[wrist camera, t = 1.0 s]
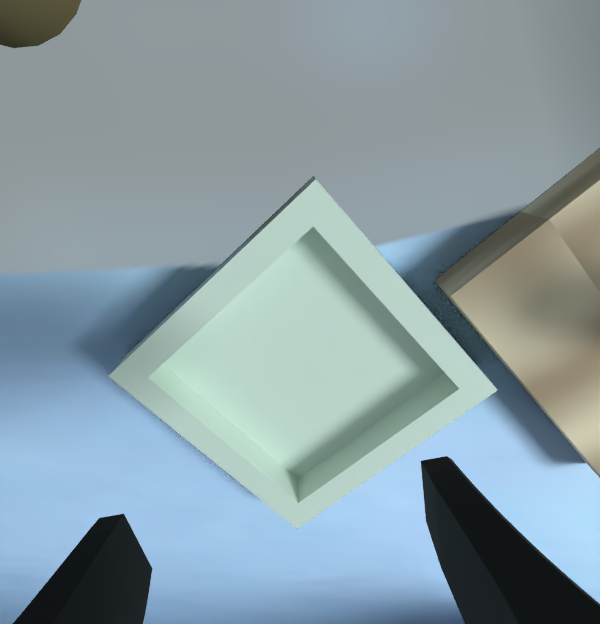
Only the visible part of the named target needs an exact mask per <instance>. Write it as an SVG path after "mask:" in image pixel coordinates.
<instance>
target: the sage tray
mask: <svg viewBox="0 0 600 624" xmlns="http://www.w3.org/2000/svg"><path fill="white" fill-rule="evenodd" d="M108 377H110V378H111V379H112V380H113V381H115V382H116V383H117V384H118V385H120V386H121V387H122V388H123V389H125V390H126V391H127V392H128V393H129V394H131V395H132V396H133V397H134V398H136V399H137V400H138V401H139V402H141V403H142V404H143V405H144V406H146V407H147V408H148V409H149V410H151V411H152V412H153V413H154V414H155V415H157V416H158V417H159V418H160V419H162V420H163V421H164V422H165V423H167V424H168V425H169V426H170V427H172V428H173V429H174V430H175V431H176V432H178V433H179V434H180V435H181V436H183V437H184V438H185V439H186V440H188V441H189V442H190V443H191V444H193V445H194V446H195V447H196V448H197V449H199V450H200V451H201V452H202V453H204V454H205V455H206V456H207V457H209V458H210V459H211V460H212V461H214V462H215V463H216V464H217V465H219V466H220V467H221V468H222V469H223V470H225V471H226V472H227V473H228V474H230V475H231V476H232V477H233V478H235V479H236V480H237V481H238V482H240V483H241V484H242V485H243V486H244V487H246V488H247V489H248V490H249V491H251V492H252V493H253V494H254V495H256V496H257V497H258V498H259V499H261V500H262V501H263V502H264V503H265V504H267V505H268V506H269V507H270V508H272V509H273V510H274V511H275V512H277V513H278V514H279V515H280V516H282V517H283V518H284V519H285V520H286V521H288V522H289V523H290V524H291V525H293V526H294V527H295V528H296V529H297V528H299V527H300V526H302V525H303V524H305V523H306V522H308V521H309V520H310V519H312V518H313V517H315V516H316V515H318V514H319V513H321V512H322V511H324V510H325V509H326V508H328V507H329V506H331V505H332V504H334V503H335V502H337V501H338V500H339V499H341V498H342V497H344V496H345V495H347V494H348V493H350V492H351V491H352V490H354V489H355V488H357V487H358V486H360V485H361V484H363V483H364V482H366V481H367V480H368V479H370V478H371V477H373V476H374V475H376V474H377V473H379V472H380V471H381V470H383V469H384V468H386V467H387V466H389V465H390V464H392V463H393V462H395V461H396V460H397V459H399V458H400V457H402V456H403V455H405V454H406V453H408V452H409V451H410V450H412V449H413V448H415V447H416V446H418V445H419V444H421V443H422V442H424V441H425V440H426V439H428V438H429V437H431V436H432V435H434V434H435V433H437V432H438V431H439V430H441V429H442V428H444V427H445V426H447V425H448V424H450V423H451V422H452V421H454V420H455V419H457V418H458V417H460V416H461V415H463V414H464V413H466V412H467V411H468V410H470V409H471V408H473V407H474V406H476V405H477V404H479V403H480V402H481V401H483V400H484V399H486V398H487V397H489V396H490V395H492V394H493V393H495V392H496V391H497V389H496V387H495V386H494V385H493V384H492V383H491V381H490V380H489V379H488V378H487V377H486V375H485V374H484V373H483V372H482V371H481V370H480V368H479V367H478V366H477V365H476V364H475V362H474V361H473V360H472V359H471V358H470V357H469V355H468V354H467V353H466V352H465V351H464V350H463V349H462V347H461V346H460V345H459V344H458V343H457V342H456V340H455V339H454V338H453V337H452V336H451V335H450V333H449V332H448V331H447V330H446V329H445V328H444V327H443V325H442V324H441V323H440V322H439V321H438V320H437V318H436V317H435V316H434V315H433V314H432V313H431V311H430V310H429V309H428V308H427V307H426V306H425V304H424V303H423V302H422V301H421V300H420V299H419V298H418V296H417V295H416V294H415V293H414V292H413V291H412V289H411V288H410V287H409V286H408V285H407V284H406V282H405V281H404V280H403V279H402V278H401V277H400V275H399V274H398V273H397V272H396V271H395V270H394V269H393V267H392V266H391V265H390V264H389V263H388V262H387V260H386V259H385V258H384V257H383V256H382V255H381V253H380V252H379V251H378V250H377V249H376V248H375V246H374V245H373V244H372V243H371V242H370V241H369V240H368V238H367V237H366V236H365V235H364V234H363V233H362V231H361V230H360V229H359V228H358V227H357V226H356V224H355V223H354V222H353V221H352V220H351V219H350V217H349V216H348V215H347V214H346V213H345V212H344V211H343V209H342V208H341V207H340V206H339V205H338V204H337V203H336V201H335V200H334V199H333V198H332V197H331V196H330V194H329V193H328V192H327V191H326V190H325V189H324V187H323V186H322V185H321V184H320V183H319V182H318V181H317V180H316V178H315V177H314V176H313V177H312V178H311V179H310V180H309V181H308V182H307V183H306V184H305V185H304V186H303V187H302V188H300V189H299V190H298V191H297V192H296V193H295V194H294V195H293V196H292V197H291V198H290V199H289V200H288V201H287V202H286V203H285V204H284V205H283V206H282V207H281V208H280V209H279V210H277V211H276V212H275V214H273V215H272V216H271V217H270V218H269V219H268V220H267V221H266V222H265V223H264V224H263V225H262V226H261V227H260V228H259V229H258V230H256V231H255V232H254V233H253V234H252V235H251V236H250V237H249V238H248V239H247V240H246V241H245V242H244V243H243V244H242V245H241V246H240V247H239V248H238V249H237V250H236V251H234V252H233V253H232V254H231V255H230V256H229V257H228V258H227V259H226V260H225V261H224V262H223V263H222V264H221V265H220V266H219V267H218V268H217V269H216V270H215V271H213V272H212V273H211V274H210V275H209V276H208V277H207V278H206V279H205V280H204V281H203V282H202V283H201V284H200V285H199V286H198V287H197V288H196V289H195V290H194V291H193V292H191V293H190V294H189V295H188V296H187V297H186V298H185V299H184V300H183V301H182V302H181V303H180V304H179V305H178V306H177V307H176V308H175V309H174V310H173V311H172V312H170V313H169V314H168V315H167V316H166V317H165V318H164V319H163V320H162V321H161V322H160V323H159V324H158V325H157V326H156V327H155V328H154V329H153V330H152V331H151V332H150V333H148V334H147V335H146V336H145V337H144V338H143V339H142V340H141V341H140V342H139V343H138V344H137V345H136V346H135V347H134V348H133V349H132V350H131V351H130V352H129V353H128V354H127V355H126V356H125V357H124V358H123V359H122V361H121V362H120V363H119V364H118V365H117V367H116V368H115V369H114V370H113V371H112V372H111V374H110V375H109V376H108Z"/></svg>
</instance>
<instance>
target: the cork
mask: <svg viewBox="0 0 600 624" xmlns="http://www.w3.org/2000/svg"><path fill="white" fill-rule="evenodd" d="M80 2H81V0H0V44H1V45H4V46H8V47H12V48H18V47H27V46H38V45H40V44H42V43H44V42H46V41H48V40H49V39H51V38H53V37H55V36H57V35H59V34H60V33H61V32H62V31H63V30H64V28H65V27H66V26H67V25H68V23H69V22H70V21H71V20H72V18H73V17H74V16H75V15H76V13H77V10H78V8H79V5H80Z"/></svg>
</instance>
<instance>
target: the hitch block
mask: <svg viewBox="0 0 600 624" xmlns="http://www.w3.org/2000/svg"><path fill="white" fill-rule="evenodd" d="M434 281H435V282H436V284H437V285H438V286H439V287H440V288H441V290H442V291H443V292H444V293H445V294H446V296H447V297H448V298H449V299H450V300H451V302H452V303H453V304H454V305H455V306H456V307H457V309H458V310H459V311H460V312H461V313H462V315H463V316H464V317H465V318H466V319H467V321H468V322H469V323H470V324H471V325H472V327H473V328H474V329H475V330H476V331H477V333H478V334H479V335H480V336H481V337H482V339H483V340H484V341H485V342H486V343H487V345H488V346H489V347H490V348H491V349H492V351H493V352H494V353H495V354H496V355H497V357H498V358H499V359H500V360H501V361H502V363H503V364H504V365H505V366H506V367H507V369H508V370H509V371H510V372H511V373H512V375H513V376H514V377H515V378H516V379H517V381H518V382H519V383H520V384H521V385H522V387H523V388H524V389H525V390H526V391H527V393H528V394H529V395H530V396H531V397H532V399H533V400H534V401H535V402H536V403H537V404H538V406H539V407H540V408H541V409H542V410H543V412H544V413H545V414H546V415H547V416H548V418H549V419H550V420H551V421H552V422H553V424H554V425H555V426H556V427H557V428H558V430H559V431H560V432H561V433H562V434H563V436H564V437H565V438H566V439H567V440H568V442H569V443H570V444H571V445H572V446H573V448H574V449H575V450H576V451H577V452H578V454H579V455H580V456H581V457H582V458H583V460H584V461H585V462H586V463H587V464H588V465H589V466H590V468H591V469H592V470H593V471H594V472H595V473H596V474H597V475H598V476H599V477H600V148H599V149H598V150H597V151H595V152H594V153H593V154H592V155H590V156H589V157H588V158H587V159H585V160H584V161H583V162H582V163H580V164H579V165H578V166H576V167H575V168H574V169H573V170H572V171H570V172H569V173H568V174H566V175H565V176H564V177H563V178H562V179H560V180H559V181H558V182H557V183H556V184H554V185H553V186H552V187H550V188H549V189H548V190H546V191H545V192H544V193H543V194H541V195H540V196H539V197H538V198H536V199H535V200H534V201H533V202H531V203H530V204H529V205H528V206H526V207H525V208H524V209H523V210H521V211H520V212H519V213H518V214H516V215H515V216H514V217H513V218H511V219H510V220H509V221H508V222H506V223H505V224H504V225H503V226H501V227H500V228H499V229H498V230H496V231H495V232H494V233H493V234H491V235H490V236H489V237H488V238H486V239H485V240H484V241H483V242H481V243H480V244H479V245H478V246H476V247H475V248H474V249H473V250H471V251H470V252H469V253H468V254H466V255H465V256H464V257H463V258H461V259H460V260H459V261H458V262H456V263H455V264H454V265H453V266H451V267H450V268H449V269H448V270H446V271H445V272H444V273H443V274H441V275H440V276H439V277H438V278H436V279H435V280H434Z"/></svg>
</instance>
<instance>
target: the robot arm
mask: <svg viewBox="0 0 600 624" xmlns="http://www.w3.org/2000/svg"><path fill="white" fill-rule="evenodd" d="M421 467H422V479H423V490H424V501H425V513H426V522H427V525H428V528H429V531H430V535H431V538H432V541H433V544H434V547H435V550H436V553H437V556H438V559H439V562H440V565H441V568H442V571H443V573H444V575H445V578H446V580H447V582H448V585H449V587H450V589H451V592H452V594H453V596H454V599H455V601H456V603H457V606H458V608H459V610H460V613H461V615H462V617H463V620H464V622H465V624H600V604H599V603H598V602H597V601H595V600H594V599H593V598H592V597H591V596H590V595H588V594H587V593H586V592H585V591H584V590H582V589H581V588H580V587H579V586H578V585H577V584H576V583H574V582H573V581H572V580H571V579H570V578H569V577H567V576H566V575H565V574H564V573H563V572H562V571H561V570H560V569H559V568H557V567H556V566H555V565H554V564H553V563H552V562H551V561H550V560H549V559H547V558H546V557H545V556H544V555H543V554H542V553H541V552H540V551H539V550H538V549H537V548H536V547H535V546H533V545H532V544H531V543H530V542H529V541H528V540H527V539H526V538H525V537H524V536H523V535H522V534H521V533H520V532H519V531H518V530H517V529H516V528H515V527H514V526H513V525H512V524H511V523H510V522H509V521H508V520H507V519H506V518H505V517H504V516H503V515H502V514H501V513H500V512H499V511H498V510H497V509H496V508H495V507H494V506H493V505H492V504H491V503H490V502H489V501H488V500H487V499H486V498H485V497H484V495H483V494H482V493H481V492H480V491H479V490H478V489H477V488H476V487H475V486H474V485H473V484H472V482H471V481H470V480H469V479H468V478H467V477H466V476H465V475H464V473H463V472H462V471H461V470H460V469H459V468H458V466H457V465H456V464H455V463H454V462H453V460H452V459H450V458H449V457H447V456H446V457H440V458H435V459H429V460H424V461H421ZM151 573H152V567H151V565H150V563H149V562H148V560H147V558H146V556H145V554H144V552H143V550H142V548H141V546H140V544H139V542H138V540H137V538H136V536H135V535H134V533H133V531H132V529H131V527H130V525H129V523H128V521H127V519H126V517H125V515H124V514H120V515H114V516H109V517H103V518H99V519H98V520H97V522H96V523H95V524H94V525H93V526H92V527H91V529H90V530H89V531H88V532H87V534H86V535H85V536H84V537H83V538H82V540H81V541H80V542H79V543H78V545H77V546H76V547H75V548H74V550H73V551H72V552H71V553H70V555H69V556H68V557H67V558H66V560H65V561H64V562H63V563H62V565H61V566H60V567H59V568H58V570H57V571H56V572H55V573H54V575H53V576H52V577H51V578H50V579H49V581H48V582H47V583H46V584H45V586H44V587H43V588H42V589H41V590H40V592H39V593H38V594H37V595H36V597H35V598H34V599H33V600H32V601H31V603H30V604H29V605H28V606H27V607H26V609H25V610H24V611H23V612H22V614H21V615H20V616H19V617H18V618H17V620H16V621H15V622H14V623H13V624H143V620H144V616H145V610H146V605H147V599H148V593H149V586H150V580H151Z"/></svg>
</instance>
